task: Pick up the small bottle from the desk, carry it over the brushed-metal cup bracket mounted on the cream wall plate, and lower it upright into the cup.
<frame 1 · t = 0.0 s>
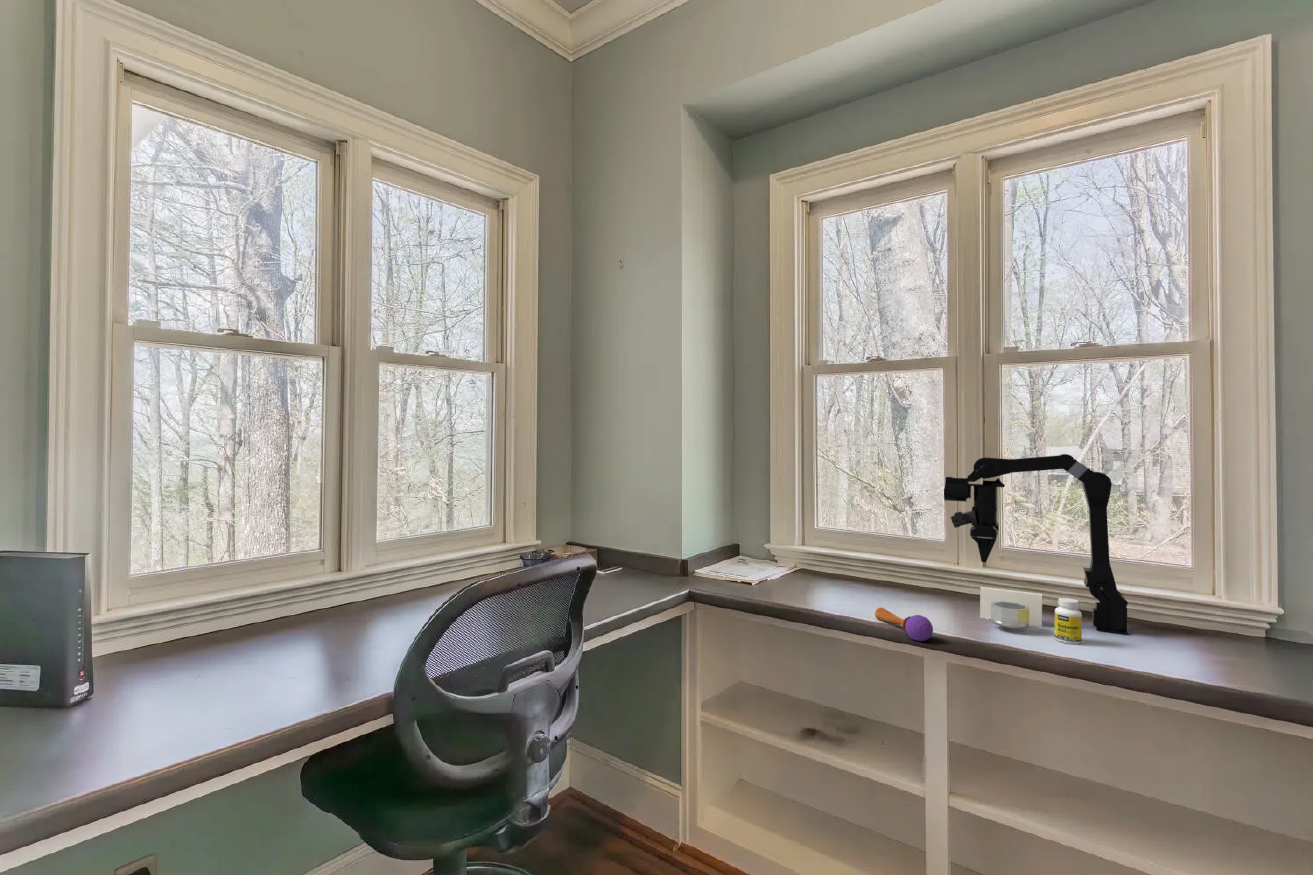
hand: (984, 559, 171), 15 cm above the table, tool pointing down, fingers open, 9 cm apart
cup bracket: (1010, 613, 157), point 4 cm above the table
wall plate: (1010, 606, 163), on the table
supplement bottle: (1067, 642, 147), on the table
purple maraca: (902, 632, 154), on the table
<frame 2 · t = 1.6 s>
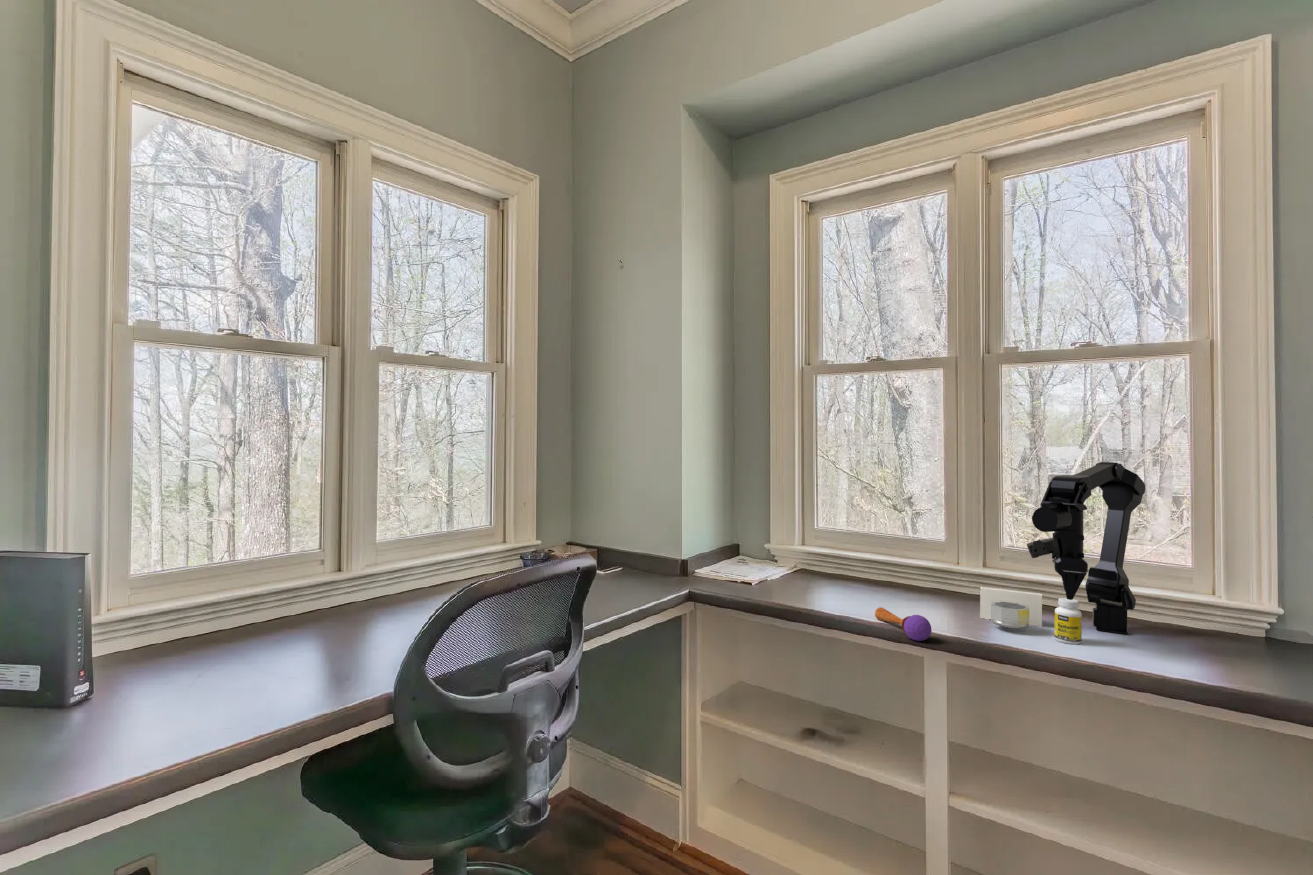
hand: (1068, 595, 147), 11 cm above the table, tool pointing down, fingers open, 9 cm apart
nothing on the table moved.
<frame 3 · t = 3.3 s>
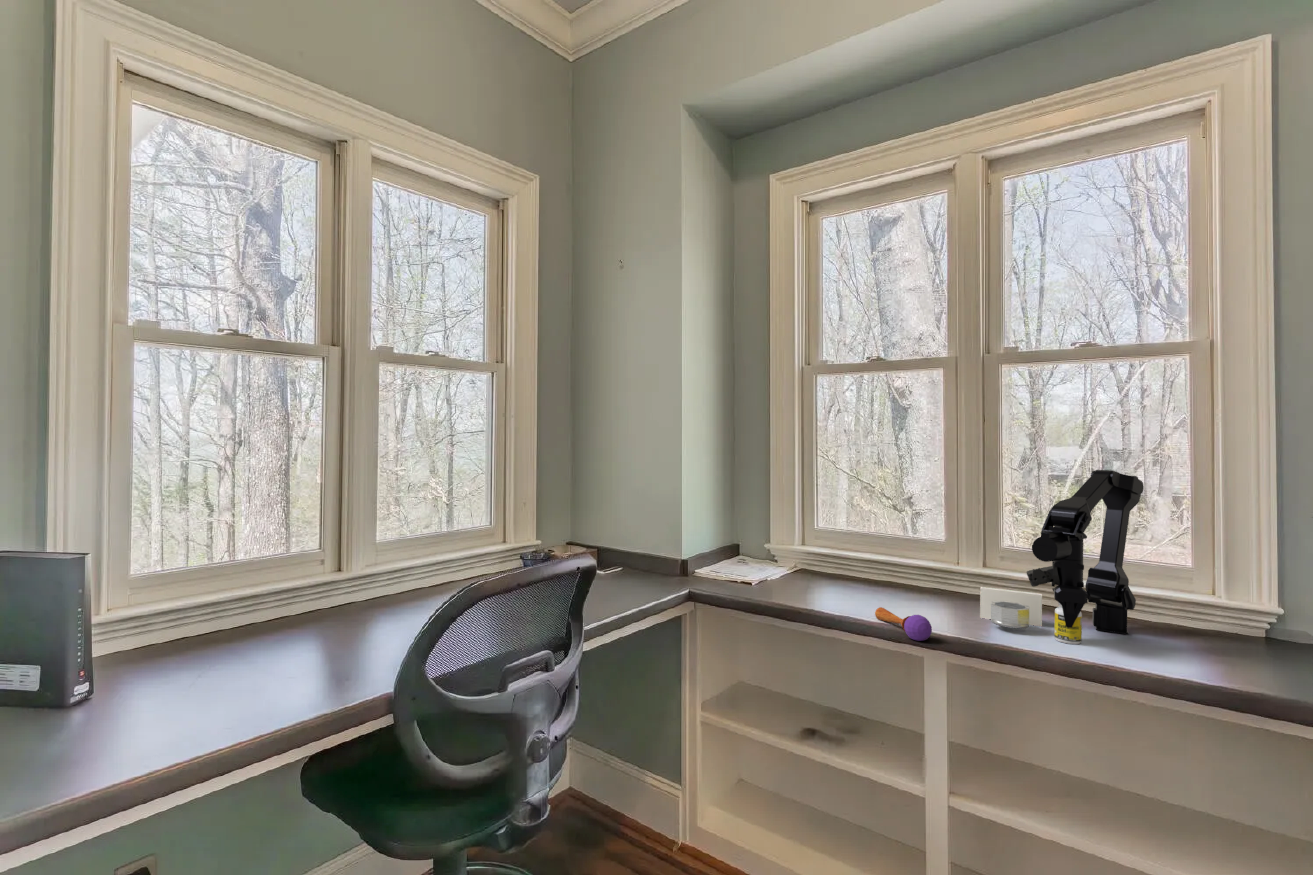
hand: (1068, 624, 147), 4 cm above the table, tool pointing down, fingers closed on supplement bottle, 5 cm apart
supplement bottle: (1067, 641, 147), on the table, touching gripper
everything else where it was.
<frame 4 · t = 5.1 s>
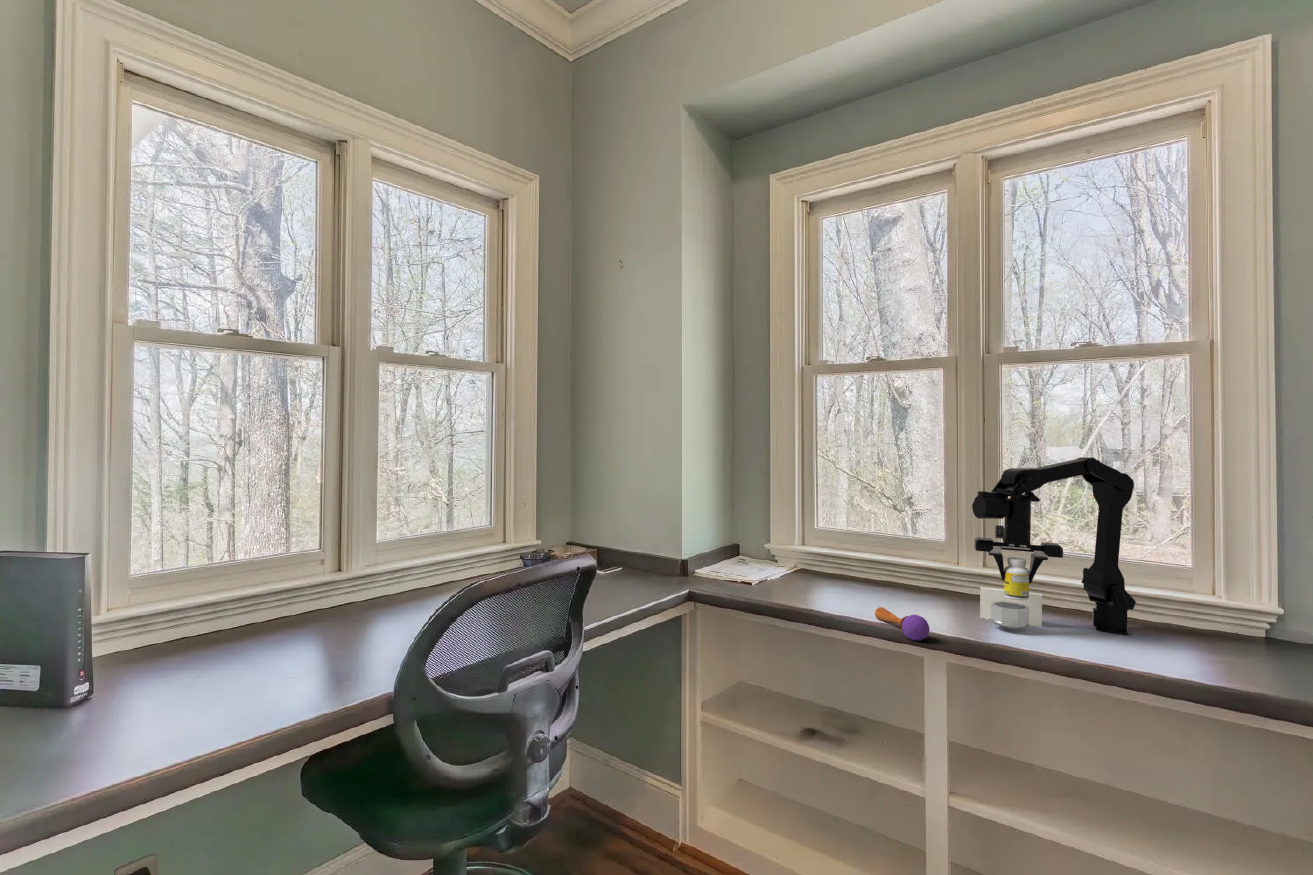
hand: (1016, 581, 155), 12 cm above the table, tool pointing down, fingers closed on supplement bottle, 5 cm apart
supplement bottle: (1016, 598, 154), point 8 cm above the table, touching gripper
everything else where it was.
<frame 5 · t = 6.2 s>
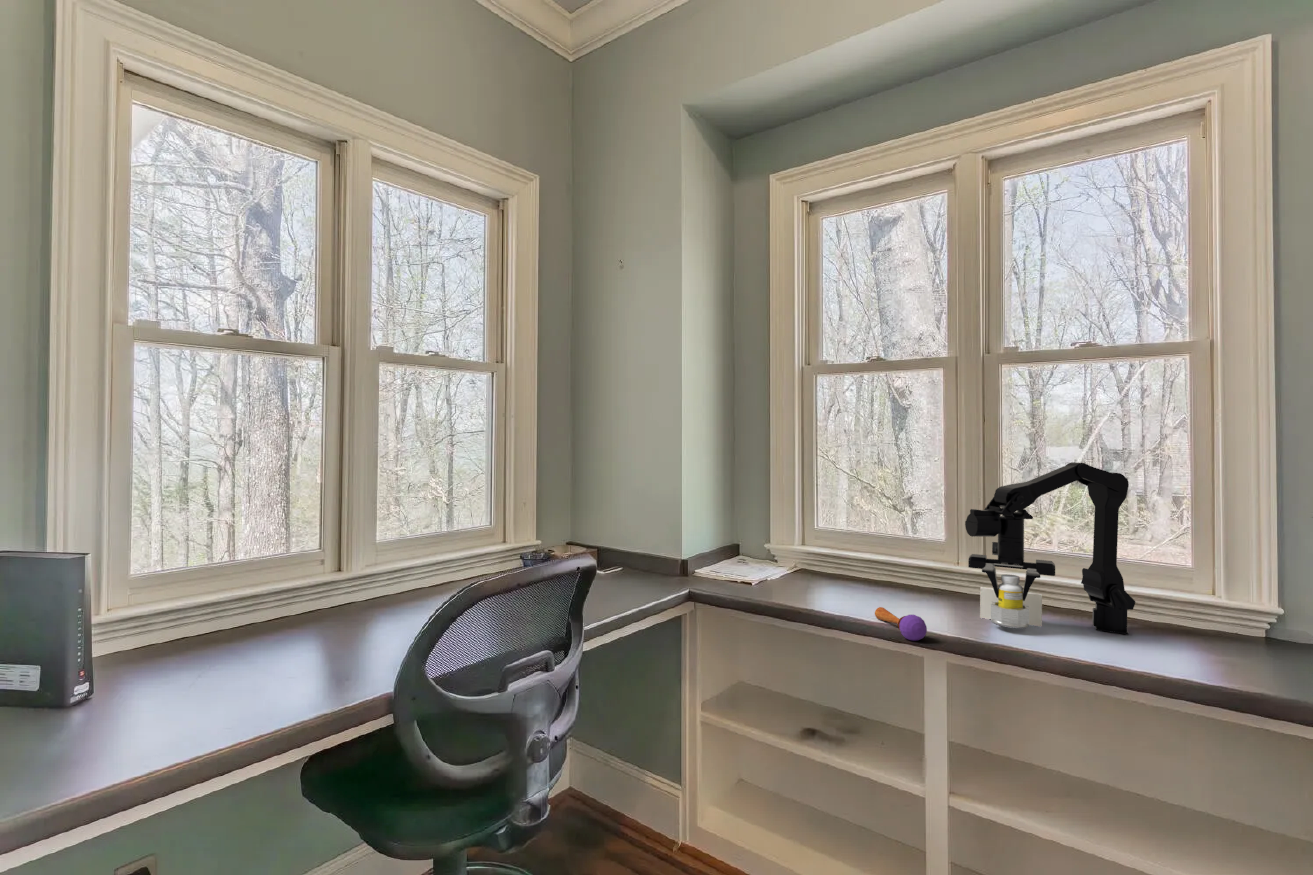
hand: (1010, 598, 156), 8 cm above the table, tool pointing down, fingers closed on supplement bottle, 5 cm apart
supplement bottle: (1010, 615, 156), point 3 cm above the table, touching gripper
everything else where it was.
when the fingers open (7 cm above the table, at t = 7.1 s): supplement bottle stays where it is, resting on cup bracket.
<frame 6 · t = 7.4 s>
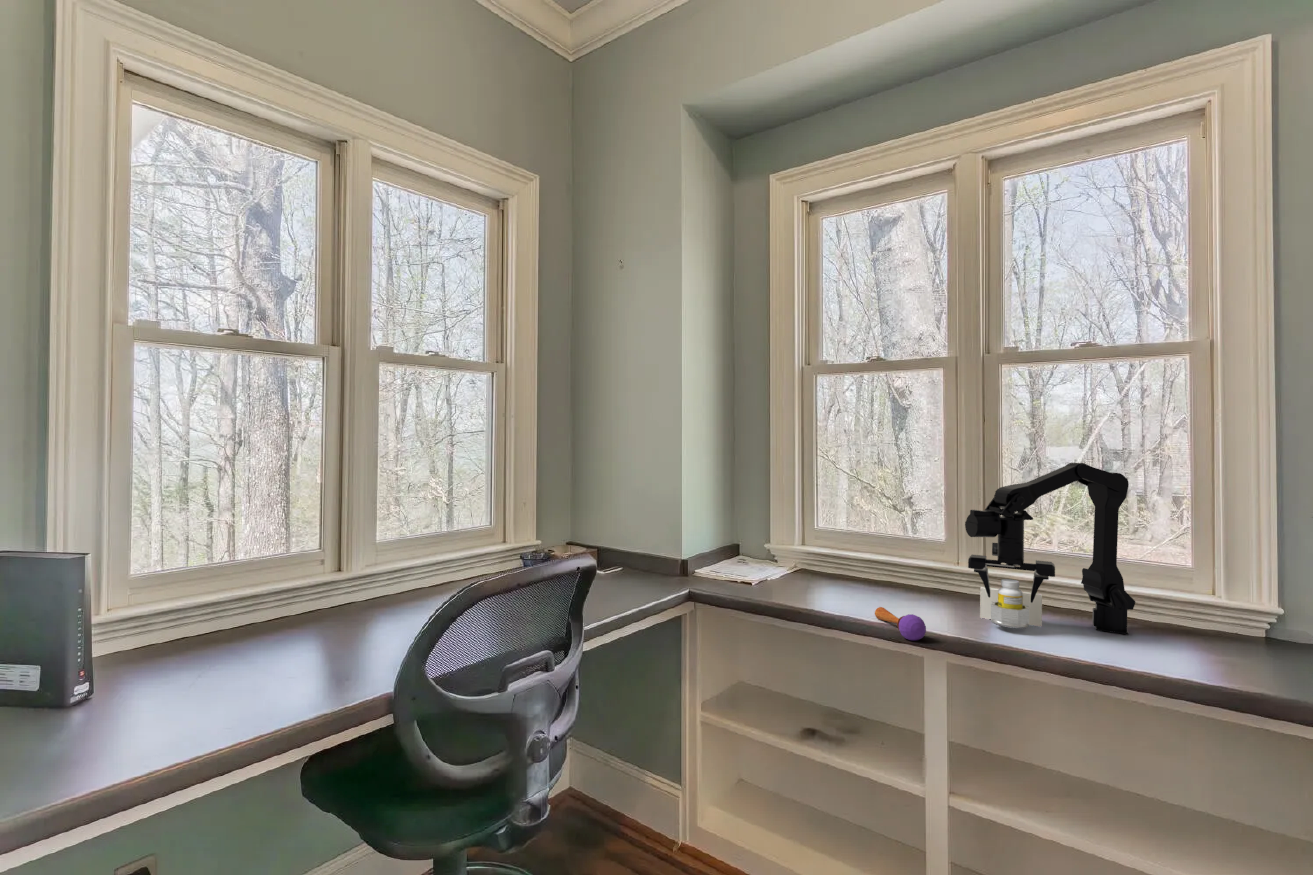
hand: (1010, 599, 156), 7 cm above the table, tool pointing down, fingers open, 9 cm apart
supplement bottle: (1010, 620, 156), point 2 cm above the table, touching cup bracket
everything else where it was.
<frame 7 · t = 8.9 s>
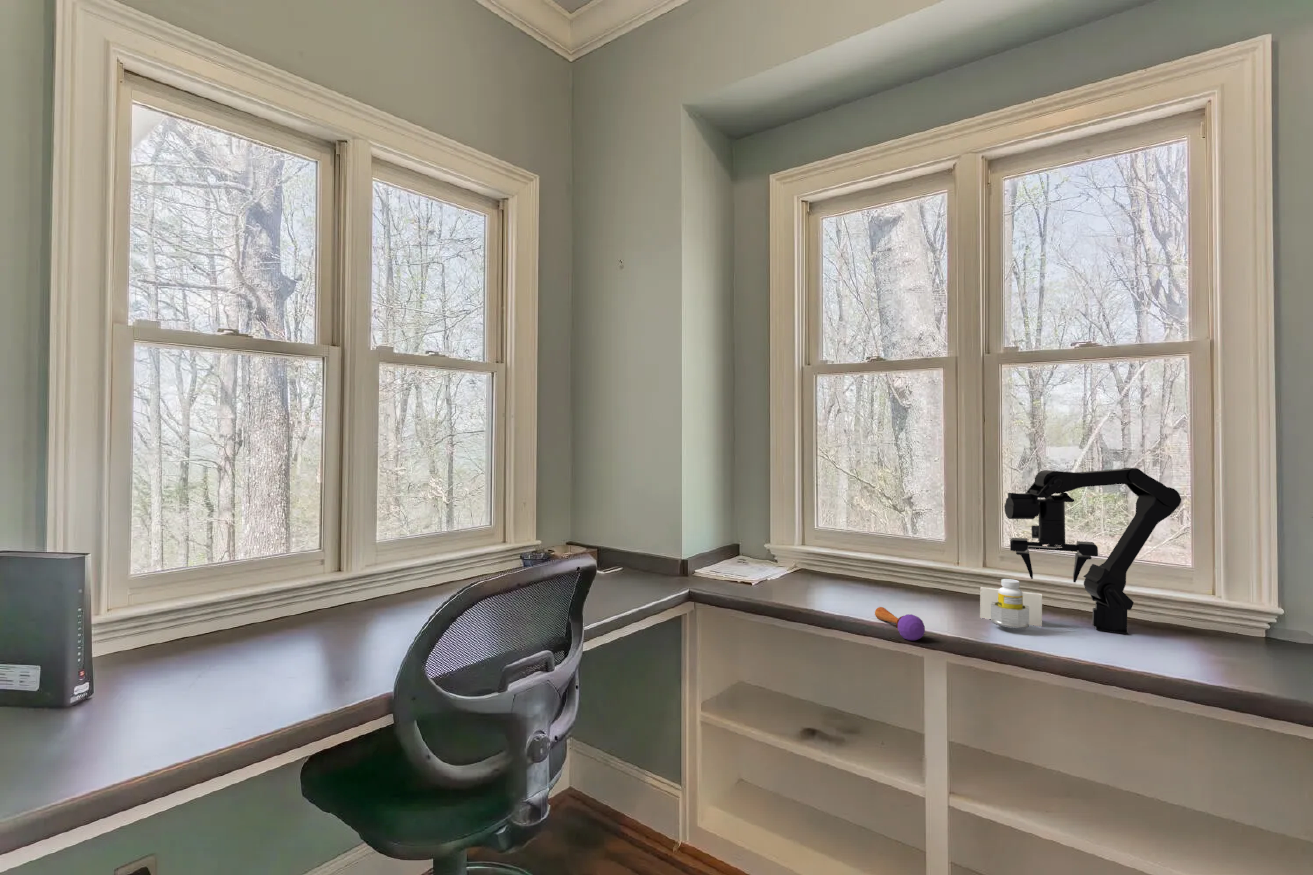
hand: (1052, 580, 159), 12 cm above the table, tool pointing down, fingers open, 9 cm apart
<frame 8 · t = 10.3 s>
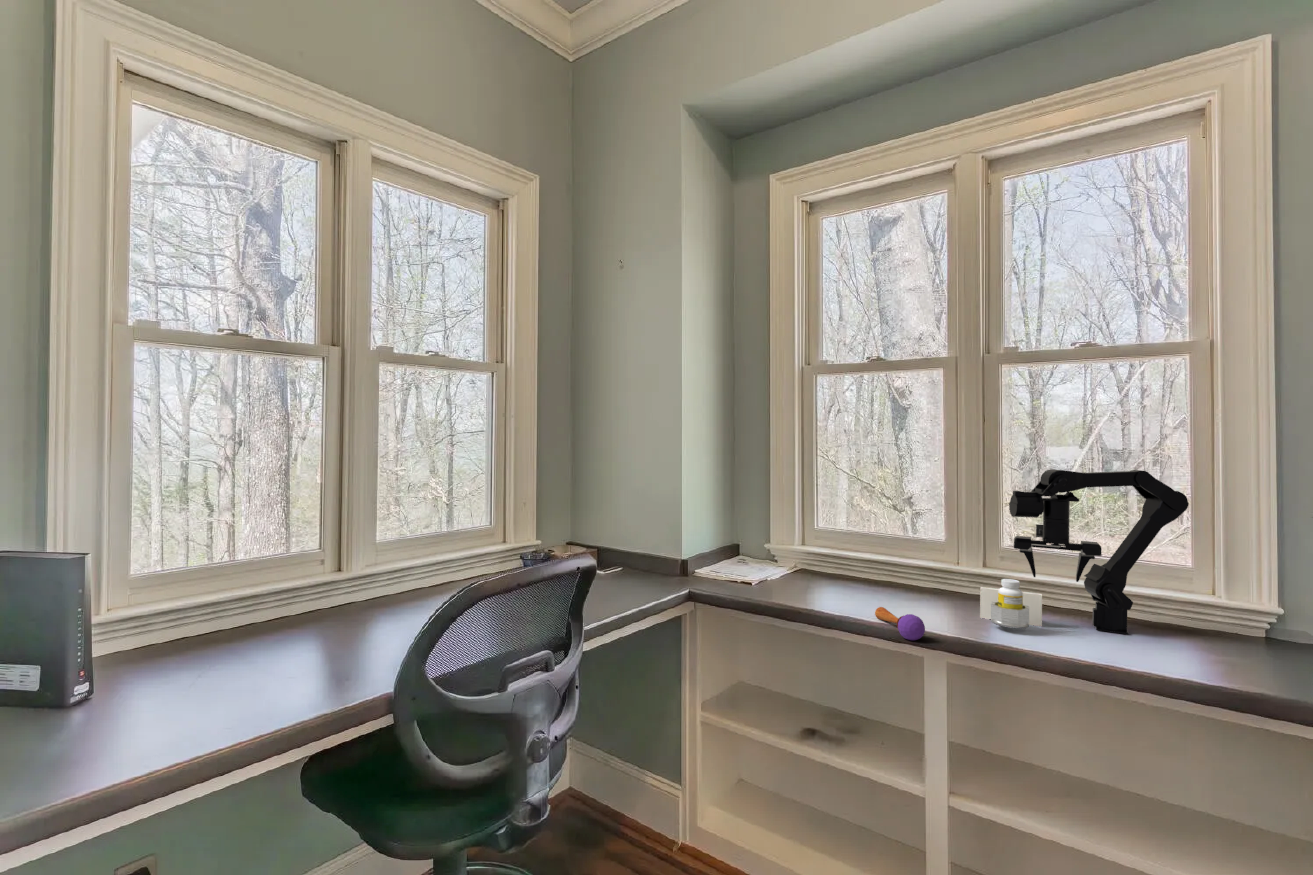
hand: (1055, 579, 159), 12 cm above the table, tool pointing down, fingers open, 9 cm apart
nothing on the table moved.
at the end: supplement bottle 0.1 cm off-centre on the cup bracket, point 2.3 cm above the cup bracket's base; supplement bottle tilted 0°; the gripper is holding nothing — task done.
